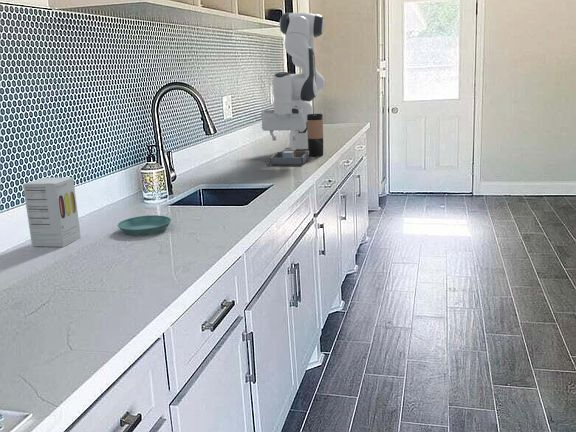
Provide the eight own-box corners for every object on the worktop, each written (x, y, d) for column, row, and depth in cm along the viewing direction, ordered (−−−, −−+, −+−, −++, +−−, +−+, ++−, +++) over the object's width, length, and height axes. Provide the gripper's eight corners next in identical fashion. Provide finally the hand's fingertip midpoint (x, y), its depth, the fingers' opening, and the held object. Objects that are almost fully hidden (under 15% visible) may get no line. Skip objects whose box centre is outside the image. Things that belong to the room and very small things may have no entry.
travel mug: (324, 154, 291) (323, 113, 286) (323, 156, 283) (322, 114, 279) (308, 154, 292) (307, 114, 287) (307, 157, 284) (306, 115, 279)
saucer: (111, 230, 167) (110, 221, 167) (161, 221, 175) (160, 212, 174) (127, 241, 155) (126, 232, 155) (179, 231, 163) (179, 222, 162)
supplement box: (63, 247, 152) (54, 183, 147) (31, 247, 153) (21, 183, 149) (82, 237, 161) (74, 176, 157) (51, 236, 162) (42, 176, 158)
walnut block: (285, 160, 272) (285, 150, 271) (287, 158, 277) (286, 149, 276) (295, 159, 272) (294, 150, 271) (296, 158, 276) (296, 148, 275)
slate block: (284, 161, 270) (284, 151, 269) (294, 160, 269) (293, 151, 268) (282, 162, 266) (282, 152, 265) (292, 162, 265) (292, 152, 264)
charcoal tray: (277, 159, 281) (277, 151, 280) (308, 158, 279) (308, 151, 278) (270, 165, 263) (269, 158, 262) (303, 165, 261) (302, 157, 260)
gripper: (259, 110, 262) (260, 141, 266) (304, 109, 259) (305, 141, 263) (262, 109, 268) (263, 139, 272) (306, 108, 265) (307, 139, 269)
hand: (284, 140), depth 267 cm, fingers open, 8 cm apart
